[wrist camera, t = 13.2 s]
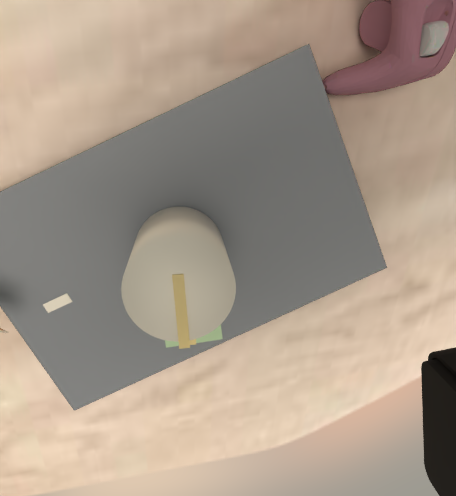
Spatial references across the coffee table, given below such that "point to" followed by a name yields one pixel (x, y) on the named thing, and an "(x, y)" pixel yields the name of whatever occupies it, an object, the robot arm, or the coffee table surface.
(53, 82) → the coffee table surface
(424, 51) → the video game controller
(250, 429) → the coffee table surface
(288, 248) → the dial board
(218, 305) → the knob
